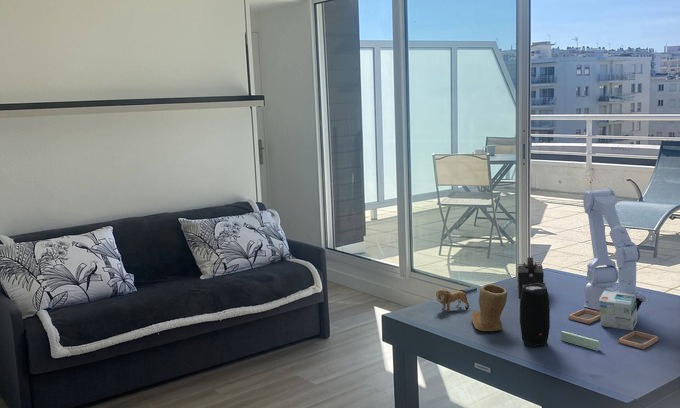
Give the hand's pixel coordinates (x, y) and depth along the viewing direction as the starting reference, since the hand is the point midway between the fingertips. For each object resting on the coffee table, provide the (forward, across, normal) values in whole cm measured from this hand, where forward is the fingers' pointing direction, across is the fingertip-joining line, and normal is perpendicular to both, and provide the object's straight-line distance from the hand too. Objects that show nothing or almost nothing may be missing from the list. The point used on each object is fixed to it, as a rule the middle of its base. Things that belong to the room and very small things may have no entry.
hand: (626, 317), depth 238 cm
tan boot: (+2, +31, +35) cm, 47 cm away
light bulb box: (+1, 0, +5) cm, 5 cm away
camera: (+2, +43, -5) cm, 43 cm away
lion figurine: (+2, +53, +30) cm, 61 cm away
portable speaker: (+2, +10, +38) cm, 39 cm away
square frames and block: (+2, 0, +15) cm, 15 cm away
